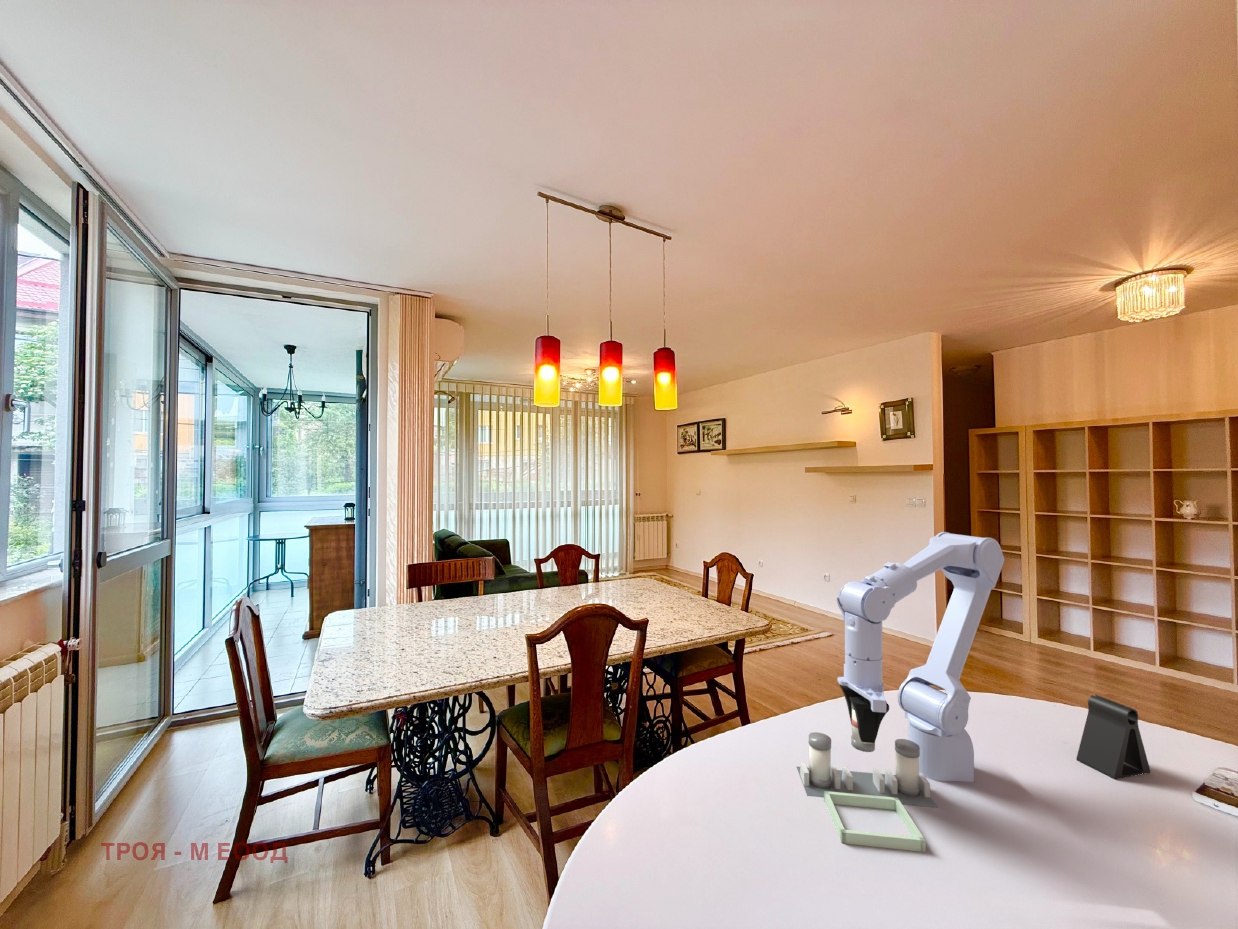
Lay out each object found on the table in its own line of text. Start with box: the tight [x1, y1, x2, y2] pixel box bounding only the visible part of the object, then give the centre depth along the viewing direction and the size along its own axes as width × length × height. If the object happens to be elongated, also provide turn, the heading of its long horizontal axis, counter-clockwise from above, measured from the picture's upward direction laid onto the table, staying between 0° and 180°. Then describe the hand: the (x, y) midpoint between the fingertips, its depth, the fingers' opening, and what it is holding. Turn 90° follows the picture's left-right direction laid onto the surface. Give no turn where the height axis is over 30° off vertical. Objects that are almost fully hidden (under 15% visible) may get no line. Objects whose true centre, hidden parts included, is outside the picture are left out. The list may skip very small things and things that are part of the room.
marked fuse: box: [850, 697, 876, 753], centre depth 84 cm, size 4×4×8 cm
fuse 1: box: [808, 731, 832, 789], centre depth 85 cm, size 4×4×8 cm
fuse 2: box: [894, 738, 920, 797], centre depth 83 cm, size 4×4×8 cm
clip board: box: [796, 762, 939, 809], centre depth 84 cm, size 20×8×3 cm, turn 82°
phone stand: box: [1076, 694, 1151, 780], centre depth 92 cm, size 9×6×12 cm, turn 103°
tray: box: [823, 791, 927, 853], centre depth 75 cm, size 11×9×3 cm
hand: (863, 735), depth 84 cm, fingers closed on marked fuse, 3 cm apart
